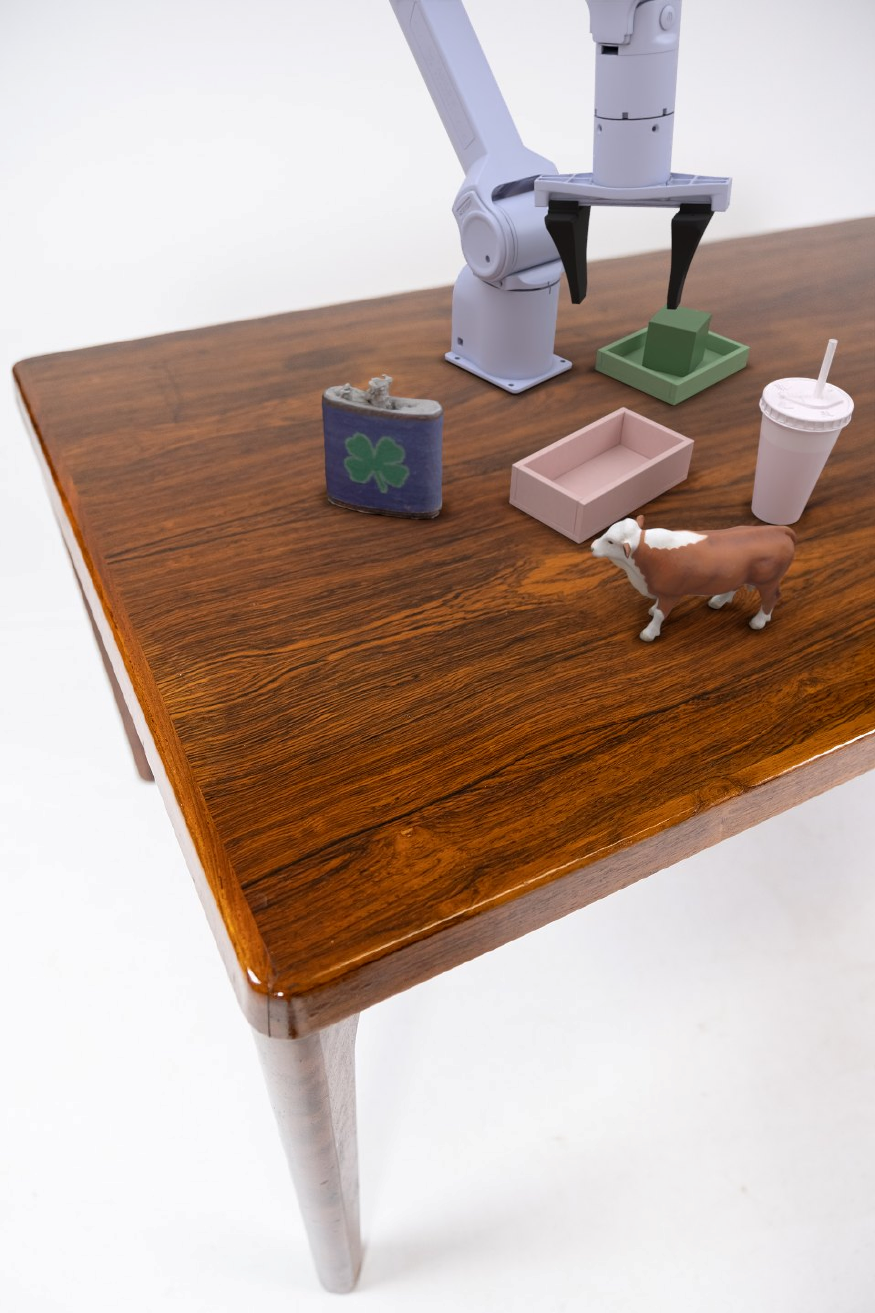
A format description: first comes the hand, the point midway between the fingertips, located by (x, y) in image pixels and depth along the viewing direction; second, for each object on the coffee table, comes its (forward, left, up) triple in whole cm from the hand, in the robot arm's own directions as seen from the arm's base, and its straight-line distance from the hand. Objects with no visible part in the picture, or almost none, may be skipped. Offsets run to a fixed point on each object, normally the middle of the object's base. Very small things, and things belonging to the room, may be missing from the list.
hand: (625, 302), depth 81 cm
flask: (-3, -23, -11) cm, 26 cm away
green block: (-2, +12, -10) cm, 16 cm away
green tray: (-2, +12, -11) cm, 16 cm away
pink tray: (+7, -9, -11) cm, 15 cm away
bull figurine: (+21, -17, -11) cm, 29 cm away
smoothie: (+18, -1, -11) cm, 21 cm away
